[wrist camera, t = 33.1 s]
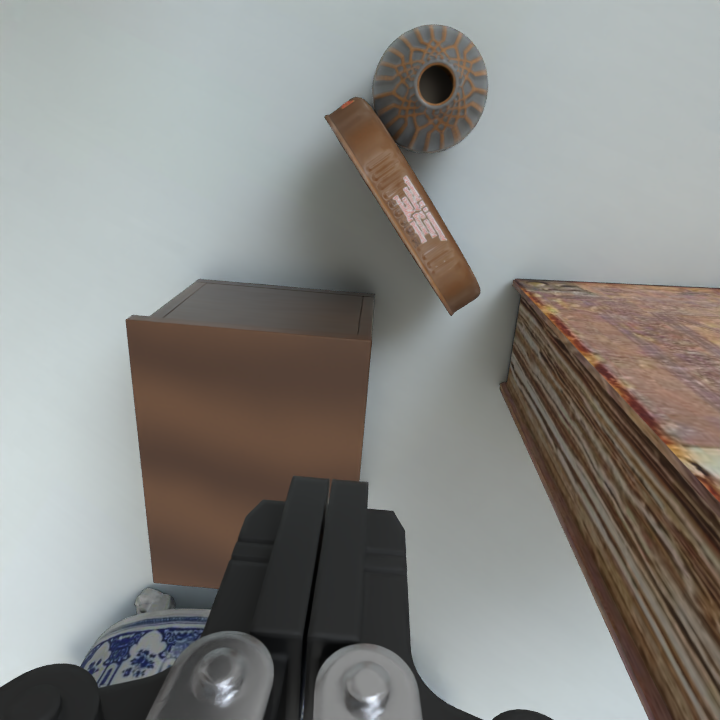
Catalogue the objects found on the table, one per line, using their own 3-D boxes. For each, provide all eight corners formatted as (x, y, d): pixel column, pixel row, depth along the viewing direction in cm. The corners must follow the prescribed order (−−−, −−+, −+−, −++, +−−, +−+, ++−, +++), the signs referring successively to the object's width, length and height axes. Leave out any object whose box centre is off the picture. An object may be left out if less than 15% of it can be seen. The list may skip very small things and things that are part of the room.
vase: (441, 12, 33) (458, -29, 25) (496, 109, 35) (528, 101, 27) (353, 83, 35) (343, 67, 27) (410, 172, 37) (417, 182, 29)
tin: (327, 121, 36) (311, 117, 28) (365, 93, 35) (359, 80, 27) (439, 298, 41) (451, 336, 33) (475, 276, 40) (496, 310, 32)
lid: (132, 314, 30) (125, 319, 29) (372, 335, 30) (371, 340, 29) (158, 573, 38) (153, 583, 37) (349, 591, 37) (348, 601, 37)
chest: (198, 278, 41) (133, 327, 30) (374, 293, 41) (371, 347, 30) (208, 478, 48) (158, 572, 38) (357, 491, 48) (349, 590, 37)
